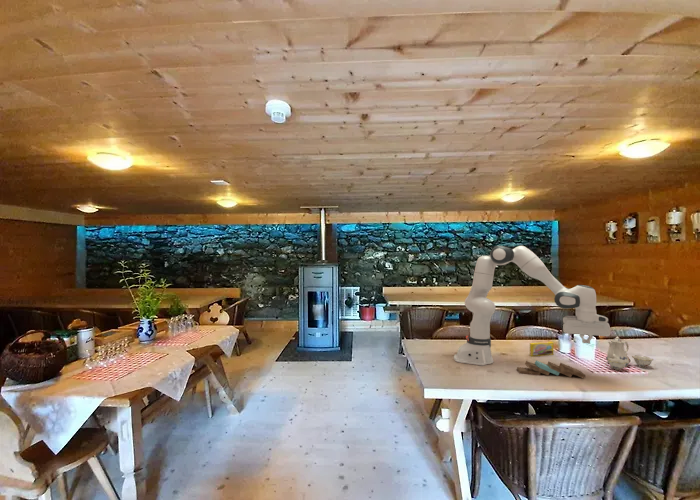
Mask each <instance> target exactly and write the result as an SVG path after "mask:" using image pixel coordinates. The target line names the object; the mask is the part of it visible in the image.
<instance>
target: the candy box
mask: <svg viewBox="0 0 700 500" xmlns="http://www.w3.org/2000/svg"><path fill="white" fill-rule="evenodd" d="M541 356H542V357H544V356H554V341H541V342H530V343H529V357H531V358H532V357H533V358H534V357H541Z"/></svg>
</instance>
